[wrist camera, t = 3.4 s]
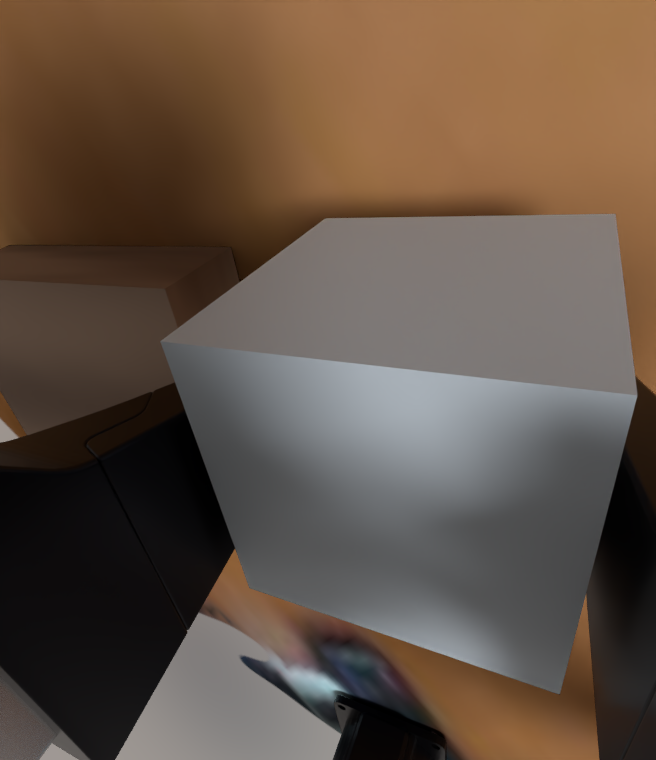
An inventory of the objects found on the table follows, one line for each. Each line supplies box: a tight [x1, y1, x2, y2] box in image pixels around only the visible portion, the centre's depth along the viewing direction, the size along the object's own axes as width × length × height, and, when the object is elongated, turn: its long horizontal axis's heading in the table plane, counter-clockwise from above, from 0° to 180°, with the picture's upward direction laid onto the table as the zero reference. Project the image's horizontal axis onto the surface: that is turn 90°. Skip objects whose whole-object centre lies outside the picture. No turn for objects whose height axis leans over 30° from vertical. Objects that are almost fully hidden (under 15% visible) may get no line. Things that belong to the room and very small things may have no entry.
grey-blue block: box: [160, 214, 637, 695], centre depth 8 cm, size 5×5×5 cm
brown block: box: [0, 245, 239, 435], centre depth 18 cm, size 10×10×3 cm
